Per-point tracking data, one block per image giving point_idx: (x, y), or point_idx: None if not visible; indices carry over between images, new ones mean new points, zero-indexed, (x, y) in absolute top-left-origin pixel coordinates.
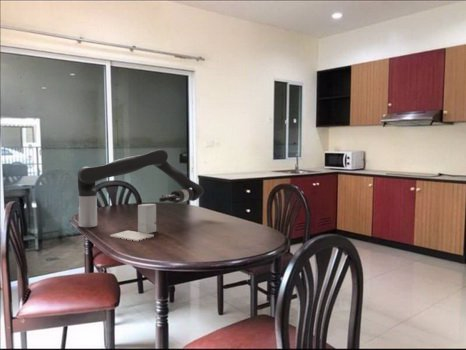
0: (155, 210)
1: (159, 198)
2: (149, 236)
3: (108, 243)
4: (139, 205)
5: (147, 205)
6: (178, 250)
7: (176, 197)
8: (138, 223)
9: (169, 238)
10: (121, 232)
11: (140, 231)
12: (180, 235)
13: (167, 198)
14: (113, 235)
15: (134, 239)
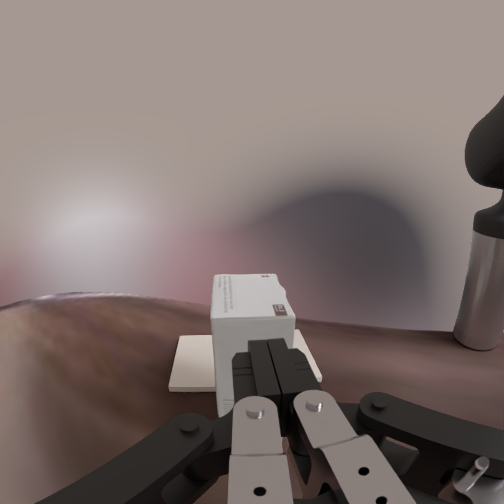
0: (213, 353)
1: (279, 340)
2: (172, 371)
3: None
4: (262, 274)
5: (214, 280)
6: (48, 329)
7: (78, 492)
8: None
9: (98, 391)
10: (305, 354)
11: None
12: (71, 433)
13: (226, 419)
14: None
15: (191, 336)
